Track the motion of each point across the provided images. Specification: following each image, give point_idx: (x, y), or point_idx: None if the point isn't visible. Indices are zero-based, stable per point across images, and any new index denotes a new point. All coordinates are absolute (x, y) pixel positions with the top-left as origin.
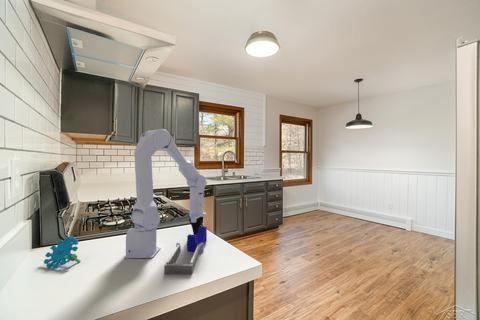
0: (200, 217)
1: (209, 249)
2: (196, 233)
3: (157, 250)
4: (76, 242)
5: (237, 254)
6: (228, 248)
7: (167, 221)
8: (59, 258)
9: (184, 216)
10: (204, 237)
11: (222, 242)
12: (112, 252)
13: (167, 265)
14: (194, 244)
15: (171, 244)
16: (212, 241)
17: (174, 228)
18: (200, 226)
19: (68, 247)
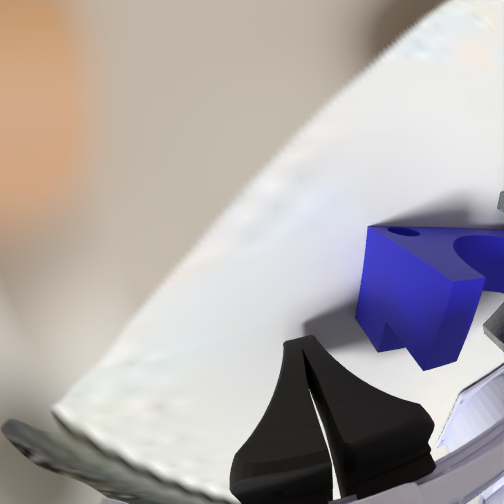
0: (307, 487)
1: (492, 157)
2: (396, 342)
3: (484, 383)
4: None
5: (483, 7)
6: (453, 35)
7: (116, 488)
8: None
9: (28, 446)
10: (440, 240)
11: (380, 71)
12: (441, 456)
13: None
14: None
15: (422, 392)
16: (381, 164)
17: (181, 470)
18: (445, 352)
19: None
